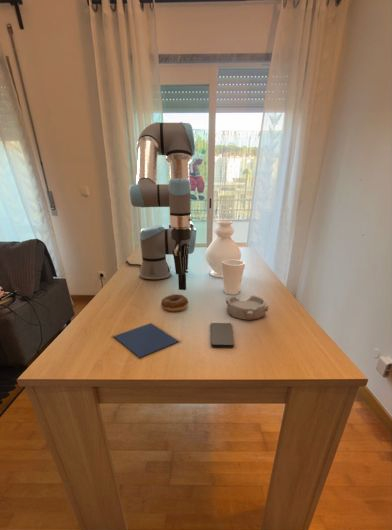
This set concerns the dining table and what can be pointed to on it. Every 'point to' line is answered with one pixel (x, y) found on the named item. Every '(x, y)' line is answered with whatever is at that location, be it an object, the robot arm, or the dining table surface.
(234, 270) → the foam cup
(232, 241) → the decorative vase
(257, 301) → the dish
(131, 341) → the cloth
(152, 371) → the dining table surface
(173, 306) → the donut
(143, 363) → the dining table surface
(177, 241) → the robot arm
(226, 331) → the smartphone
